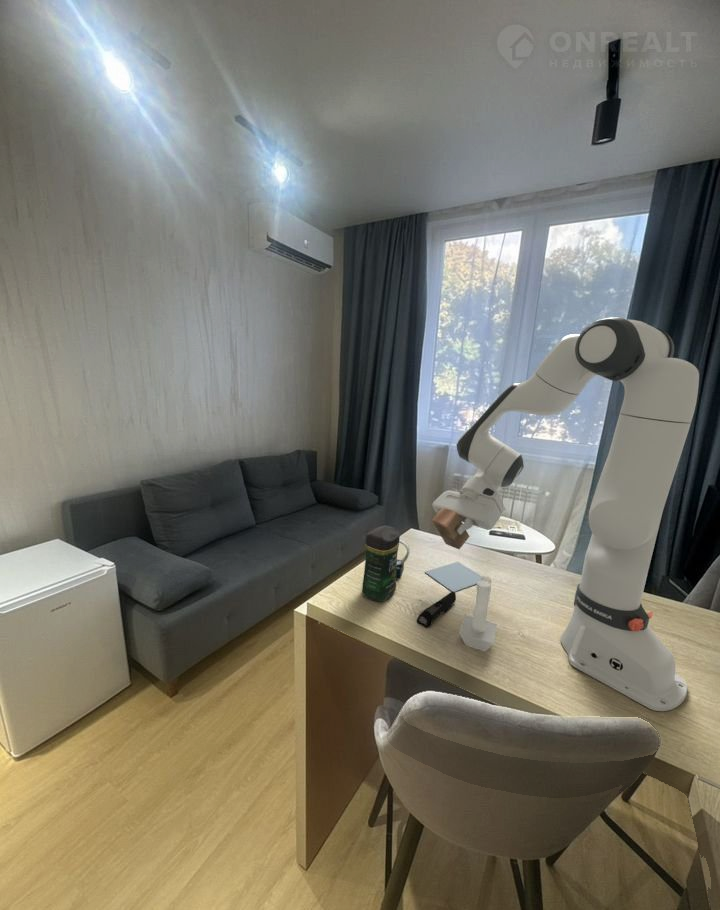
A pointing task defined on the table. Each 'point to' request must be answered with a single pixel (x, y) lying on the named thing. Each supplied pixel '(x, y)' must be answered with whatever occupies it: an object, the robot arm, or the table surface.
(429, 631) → the table surface
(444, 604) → the electric trimmer
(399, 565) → the watch
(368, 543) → the coffee jar
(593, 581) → the robot arm
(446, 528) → the walnut block
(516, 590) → the table surface
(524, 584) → the table surface
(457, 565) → the slate pad
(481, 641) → the white peg stand
